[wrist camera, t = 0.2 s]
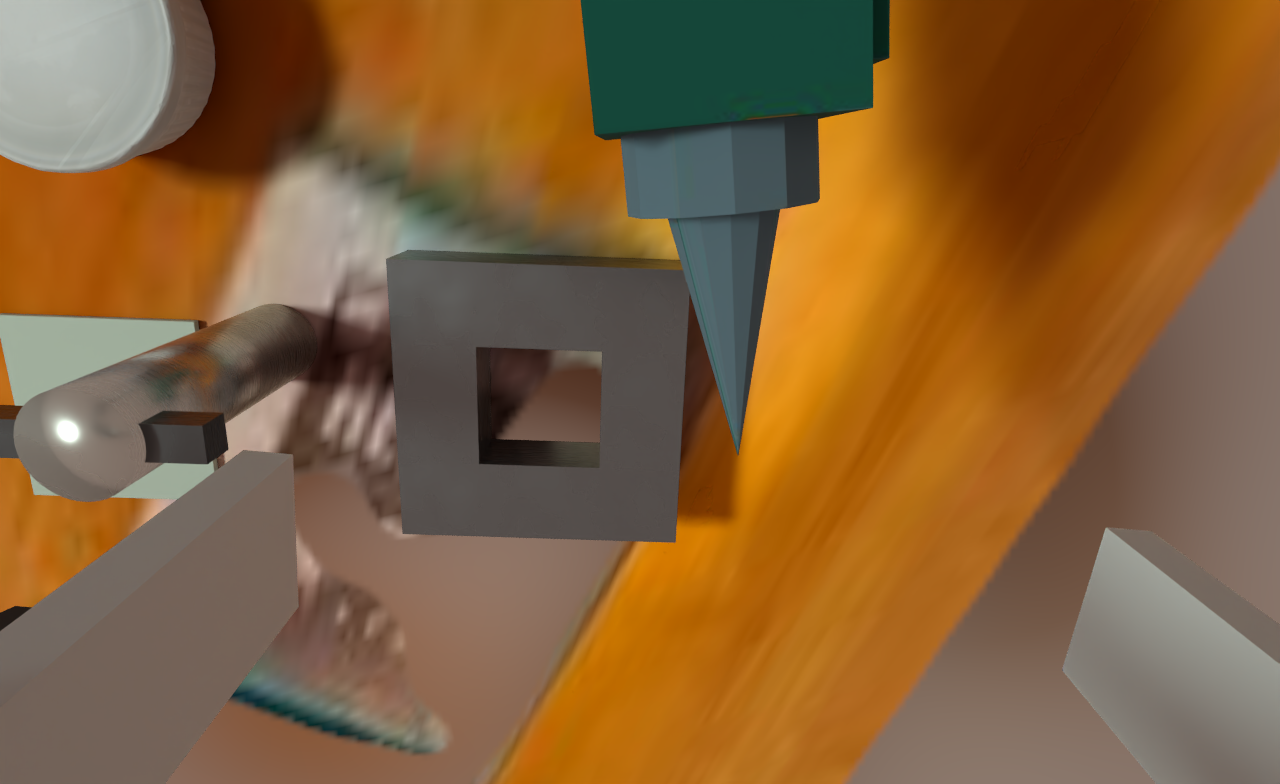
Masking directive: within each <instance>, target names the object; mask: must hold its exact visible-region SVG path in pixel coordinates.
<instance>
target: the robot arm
mask: <svg viewBox="0 0 1280 784" xmlns="http://www.w3.org/2000/svg"><path fill="white" fill-rule="evenodd" d="M297 608H298V581H297V555H296V528H295V501H294V474H293V455H292V454H281V453H269V452H258V451H247V450H243V451H242V452H240V453H239V454H238V455H236V456H235V457H234V458H232V459H231V460H230V461H228V462H227V463H226V464H224V465H223V466H222V467H220V468H219V469H218V470H216V471H215V472H214V473H212V474H211V475H209V476H208V477H207V478H205V479H204V480H203V481H201V482H200V483H199V484H197V485H196V486H195V487H193V488H192V489H191V490H189V491H188V492H187V493H185V494H184V495H183V496H181V497H180V498H179V499H177V500H176V501H175V502H173V503H172V504H171V505H169V506H168V507H166V508H165V509H164V510H162V511H161V512H160V513H158V514H157V515H156V516H154V517H153V518H152V519H150V520H149V521H148V522H146V523H145V524H144V525H142V526H141V527H140V528H138V529H137V530H136V531H134V532H133V533H132V534H130V535H129V536H127V537H126V538H125V539H123V540H122V541H121V542H119V543H118V544H117V545H115V546H114V547H113V548H111V549H110V550H109V551H107V552H106V553H105V554H103V555H102V556H101V557H99V558H98V559H97V560H95V561H94V562H93V563H91V564H90V565H89V566H87V567H86V568H84V569H83V570H82V571H80V572H79V573H78V574H76V575H75V576H74V577H72V578H71V579H70V580H68V581H67V582H66V583H64V584H63V585H62V586H60V587H59V588H58V589H56V590H55V591H54V592H52V593H51V594H50V595H48V596H47V597H45V598H44V599H43V600H41V601H40V602H39V603H37V604H36V605H35V606H33V607H20V606H14V607H12V608H10V609H8V610H5V611H3V612H1V613H0V784H165V783H166V782H167V781H168V779H169V778H170V776H171V775H172V774H173V773H174V771H175V770H176V769H177V767H178V766H179V765H180V763H181V762H182V761H183V759H184V758H185V757H186V755H187V754H188V753H189V751H190V750H191V749H192V747H193V746H194V744H195V743H196V742H197V741H198V739H199V738H200V737H201V735H202V734H203V733H204V731H205V730H206V729H207V727H208V726H209V725H210V724H211V722H212V721H213V719H214V718H215V717H216V716H217V714H218V713H219V712H220V710H221V709H222V708H223V706H224V705H225V704H226V702H227V701H228V700H229V698H230V697H231V696H232V694H233V693H234V692H235V690H236V689H237V688H238V686H239V685H240V684H241V682H242V681H243V680H244V678H245V677H246V676H247V674H248V673H249V672H250V670H251V669H252V668H253V666H254V665H255V664H256V662H257V661H258V660H259V658H260V657H261V656H262V654H263V653H264V652H265V651H266V649H267V648H268V647H269V645H270V644H271V643H272V641H273V640H274V639H275V637H276V636H277V635H278V633H279V632H280V631H281V629H282V628H283V627H284V625H285V624H286V623H287V621H288V620H289V619H290V617H291V616H292V615H293V613H294V612H295V611H296V609H297ZM1062 671H1063V672H1064V673H1065V674H1066V676H1067V677H1068V678H1069V679H1070V680H1071V682H1072V683H1073V684H1074V685H1075V686H1076V688H1077V689H1078V690H1079V691H1080V692H1081V694H1082V695H1083V696H1084V697H1085V698H1086V700H1087V701H1088V702H1089V703H1090V704H1091V706H1092V707H1093V708H1094V709H1095V711H1096V712H1097V713H1098V714H1099V715H1100V717H1101V718H1102V719H1103V720H1104V721H1105V723H1106V724H1107V725H1108V726H1109V727H1110V729H1111V730H1112V731H1113V732H1114V733H1115V735H1116V736H1117V737H1118V738H1119V739H1120V741H1121V742H1122V743H1123V744H1124V745H1125V747H1126V748H1127V749H1128V750H1129V752H1130V753H1131V754H1132V755H1133V756H1134V757H1135V759H1136V760H1137V761H1138V762H1139V764H1140V765H1141V766H1142V767H1143V768H1144V770H1145V771H1146V772H1147V773H1148V774H1149V776H1150V777H1151V778H1152V779H1153V780H1154V782H1155V783H1156V784H1280V624H1279V623H1277V622H1276V621H1274V620H1273V619H1272V618H1270V617H1269V616H1268V615H1266V614H1265V613H1263V612H1262V611H1261V610H1259V609H1258V608H1256V607H1255V606H1254V605H1252V604H1251V603H1250V602H1248V601H1247V600H1246V599H1244V598H1243V597H1241V596H1240V595H1238V594H1237V593H1236V592H1235V591H1233V590H1232V589H1230V588H1229V587H1227V586H1226V585H1225V584H1223V583H1222V582H1221V581H1219V580H1218V579H1217V578H1215V577H1214V576H1213V575H1211V574H1210V573H1208V572H1207V571H1206V570H1204V569H1203V568H1201V567H1200V566H1199V565H1197V564H1196V563H1194V562H1193V561H1192V560H1191V559H1189V558H1188V557H1186V556H1185V555H1184V554H1182V553H1181V552H1180V551H1178V550H1177V549H1175V548H1174V547H1173V546H1171V545H1170V544H1168V543H1167V542H1166V541H1164V540H1163V539H1161V538H1160V537H1159V536H1157V535H1156V534H1155V533H1153V532H1152V531H1141V530H1131V529H1120V528H1109V527H1106V529H1105V532H1104V535H1103V539H1102V542H1101V545H1100V548H1099V552H1098V555H1097V558H1096V562H1095V565H1094V568H1093V571H1092V575H1091V578H1090V581H1089V584H1088V588H1087V591H1086V594H1085V597H1084V600H1083V604H1082V607H1081V611H1080V613H1079V617H1078V620H1077V623H1076V626H1075V630H1074V633H1073V636H1072V640H1071V643H1070V646H1069V649H1068V652H1067V656H1066V659H1065V662H1064V666H1063V669H1062Z"/></svg>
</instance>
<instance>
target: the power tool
mask: <svg viewBox="0 0 1280 784" xmlns="http://www.w3.org/2000/svg"><path fill="white" fill-rule="evenodd" d="M581 8H582V18H583V27H584V37H585V46H586V56H587V66H588V75H589V85H590V94H591V104H592V114H593V123H594V133H595V135H596V136H598V137H600V138H602V139H604V140H612V139H621V146H622V157H623V167H624V178H625V188H626V199H627V210H628V216H629V217H634V218H639V219H665V218H668V220H669V224H670V227H671V230H672V234H673V237H674V241H675V244H676V247H677V251H678V254H679V258H680V261H681V264H682V268H683V271H684V274H685V278H686V281H687V285H688V288H689V291H690V295H691V298H692V302H693V305H694V308H695V312H696V315H697V319H698V322H699V325H700V329H701V332H702V336H703V339H704V342H705V346H706V349H707V352H708V356H709V359H710V363H711V366H712V369H713V373H714V376H715V380H716V383H717V386H718V390H719V393H720V397H721V400H722V403H723V407H724V410H725V413H726V417H727V420H728V424H729V427H730V430H731V434H732V437H733V441H734V444H735V447H736V451H737V454H739V448H740V442H741V436H742V430H743V424H744V418H745V412H746V407H747V401H748V395H749V389H750V383H751V377H752V371H753V365H754V359H755V353H756V348H757V342H758V336H759V330H760V324H761V318H762V312H763V306H764V300H765V295H766V289H767V283H768V277H769V271H770V265H771V259H772V253H773V247H774V241H775V236H776V230H777V224H778V218H779V212H780V209H785V208H791V207H796V206H801V205H806V204H811V203H816V202H818V201H819V199H820V188H819V142H818V119H820V118H825V117H830V116H835V115H839V114H844V113H849V112H854V111H859V110H864V109H869V108H873V64H875V63H877V62H880V61H882V60H885V59H887V58H889V13H890V0H581Z"/></svg>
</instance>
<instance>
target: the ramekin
mask: <svg viewBox="0 0 1280 784" xmlns="http://www.w3.org/2000/svg"><path fill="white" fill-rule="evenodd" d="M215 65H216V63H215V46H214V42H213V36H212V31H211V28H210V26H209V22H208V18H207V15H206V13H205V11H204V9H203V6H202V4H201V1H200V0H0V155H2V156H4V157H6V158H8V159H10V160H12V161H14V162H17V163H20V164H23V165H26V166H29V167H32V168H35V169H38V170H41V171H50V172H61V173H84V172H94V171H100V170H105V169H109V168H112V167H115V166H118V165H120V164H123V163H125V162H127V161H128V160H130V159H132V158H134V157H135V156H138V155H142V154H145V153H149V152H151V151H154V150H158V149H161V148H163V147H164V146H165V145H167V144H170V143H172V142H174V141H175V140H176V139H178V138H179V137H180V136H182V135H184V134H185V133H186V131H187V130H188V129H189V128H191V127H192V126H193V125H194V123H195V121H196V120H197V119H198V118H199V117H200V115H201V113H202V111H203V108H204V107H205V106H206V104H207V102H208V97H209V95H210V93H211V90H212V84H213V81H214V77H215Z"/></svg>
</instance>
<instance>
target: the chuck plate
mask: <svg viewBox="0 0 1280 784" xmlns="http://www.w3.org/2000/svg"><path fill="white" fill-rule="evenodd" d="M386 265H387V281H388V298H389V315H390V331H391V348H392V364H393V381H394V398H395V414H396V431H397V447H398V464H399V481H400V497H401V514H402V530H403V534H425V535H457V536H490V537H519V538H551V539H581V540H613V541H644V542H675V541H676V524H677V506H678V489H679V471H680V454H681V436H682V419H683V402H684V384H685V367H686V349H687V332H688V314H689V297H690V291H689V288H688V285H687V281H686V278H685V274H684V271H683V268H682V264H681V261H680V260H661V259H635V258H608V257H581V256H555V255H528V254H501V253H475V252H448V251H421V250H407V251H404V252H402V253H400V254H397V255H395V256H392V257H390V258H387V259H386ZM490 347H492V348H520V349H548V350H576V351H602V384H601V426H600V427H601V428H600V443H589V442H561V441H559V442H558V441H531V440H530V441H529V440H502V439H492V426H491V379H490Z"/></svg>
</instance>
